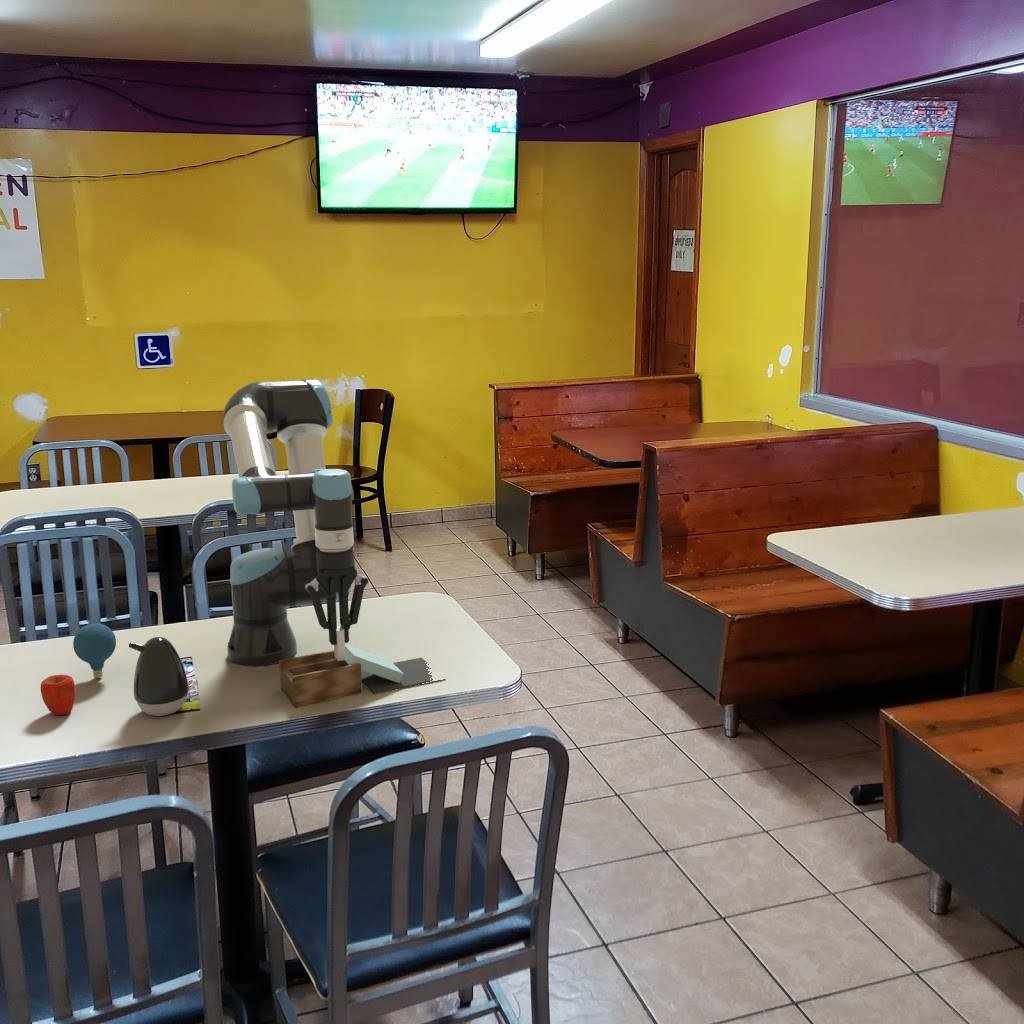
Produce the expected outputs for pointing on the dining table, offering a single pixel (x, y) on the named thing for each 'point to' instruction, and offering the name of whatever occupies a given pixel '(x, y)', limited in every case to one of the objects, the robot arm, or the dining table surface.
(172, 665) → the pump dispenser
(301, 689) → the box
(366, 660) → the lid
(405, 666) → the mat
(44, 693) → the apple
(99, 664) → the light bulb
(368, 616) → the dining table surface
